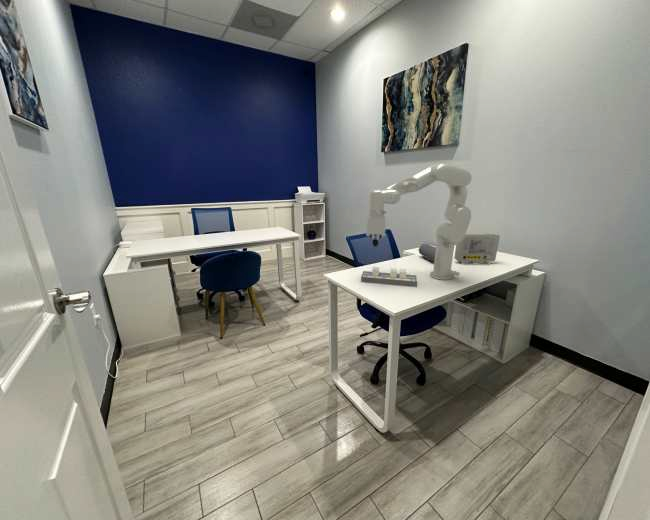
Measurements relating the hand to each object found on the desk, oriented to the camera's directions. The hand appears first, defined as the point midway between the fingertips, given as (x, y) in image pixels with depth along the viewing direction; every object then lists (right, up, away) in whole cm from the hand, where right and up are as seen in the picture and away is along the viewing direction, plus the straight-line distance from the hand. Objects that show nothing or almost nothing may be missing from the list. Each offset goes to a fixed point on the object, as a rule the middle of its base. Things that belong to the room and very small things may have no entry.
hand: (375, 246), depth 156 cm
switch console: (+8, -20, +2) cm, 21 cm away
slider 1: (+1, -16, +4) cm, 16 cm away
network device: (+73, -10, +33) cm, 80 cm away
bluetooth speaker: (+47, -8, +38) cm, 61 cm away
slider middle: (+10, -17, +1) cm, 20 cm away
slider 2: (+15, -17, 0) cm, 23 cm away
